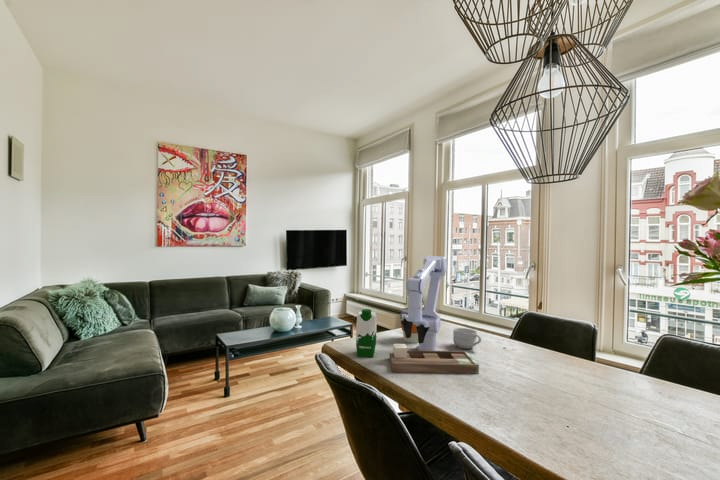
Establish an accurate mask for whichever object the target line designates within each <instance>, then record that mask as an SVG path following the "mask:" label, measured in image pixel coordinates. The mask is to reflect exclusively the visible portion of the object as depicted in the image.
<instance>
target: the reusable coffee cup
mask: <svg viewBox="0 0 720 480" xmlns="http://www.w3.org/2000/svg"><path fill="white" fill-rule="evenodd" d="M423 310H424V309H423V308H422V311H423ZM402 314H407V315H408V307H404V308H402V309H401V310H400V316H401V320H400V322H401V321H403V320H404V319H402ZM400 324H401V323H400ZM401 331H402V334H403V341H404V342H406V343H410V344H419V343H418V332H417V329H416V323H414V322H413V325H412V331H411V337H410V338H406V335H405V331H404V328H403V326H402V324H401Z"/></svg>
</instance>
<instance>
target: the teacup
mask: <svg viewBox="0 0 720 480" xmlns="http://www.w3.org/2000/svg"><path fill="white" fill-rule="evenodd" d="M477 333H478V332H477V330H475V329H471V328H465V327H456V328H453V332H452V334H453V335H452V336H453V337H452V340H453V341H452V342H453V343H454V345H456V346H457V347H458V348H461V349H466V350H467V349H468V350H469V349H470V350H471V349H472V348H473V347H476V346H477V345H478V344H480V343H482V336H481V334H477ZM477 339H478V341H477Z"/></svg>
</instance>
